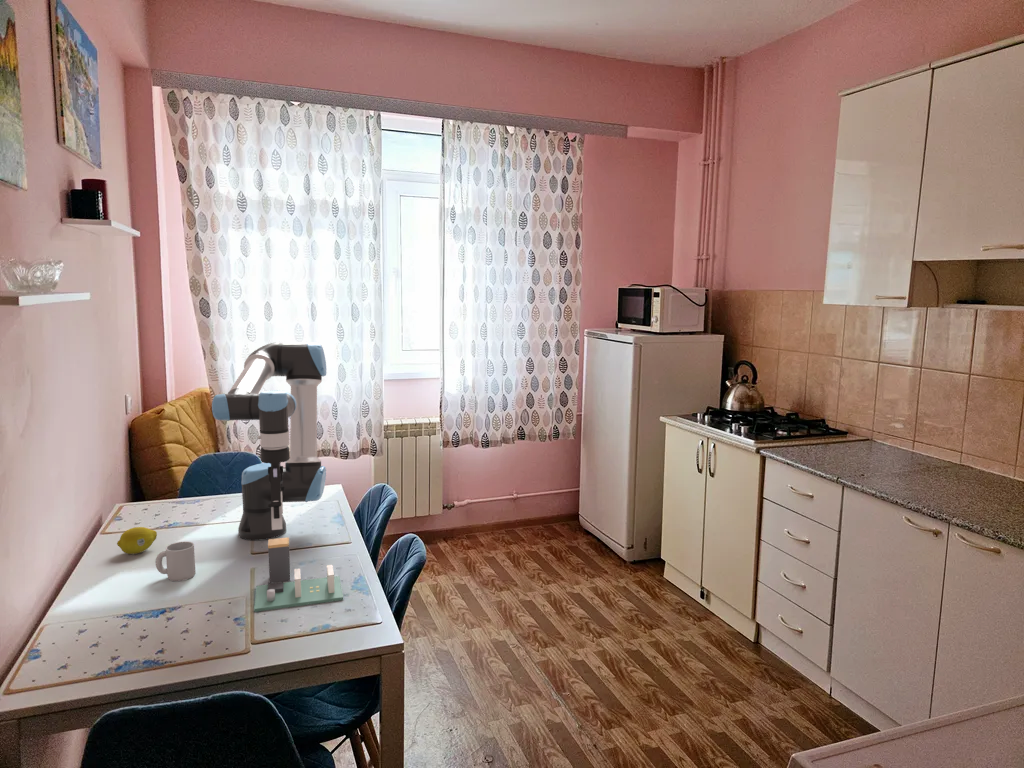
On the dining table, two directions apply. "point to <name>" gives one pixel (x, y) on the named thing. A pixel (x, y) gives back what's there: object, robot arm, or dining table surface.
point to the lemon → (136, 540)
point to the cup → (178, 561)
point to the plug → (279, 560)
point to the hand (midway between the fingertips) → (277, 521)
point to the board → (299, 592)
